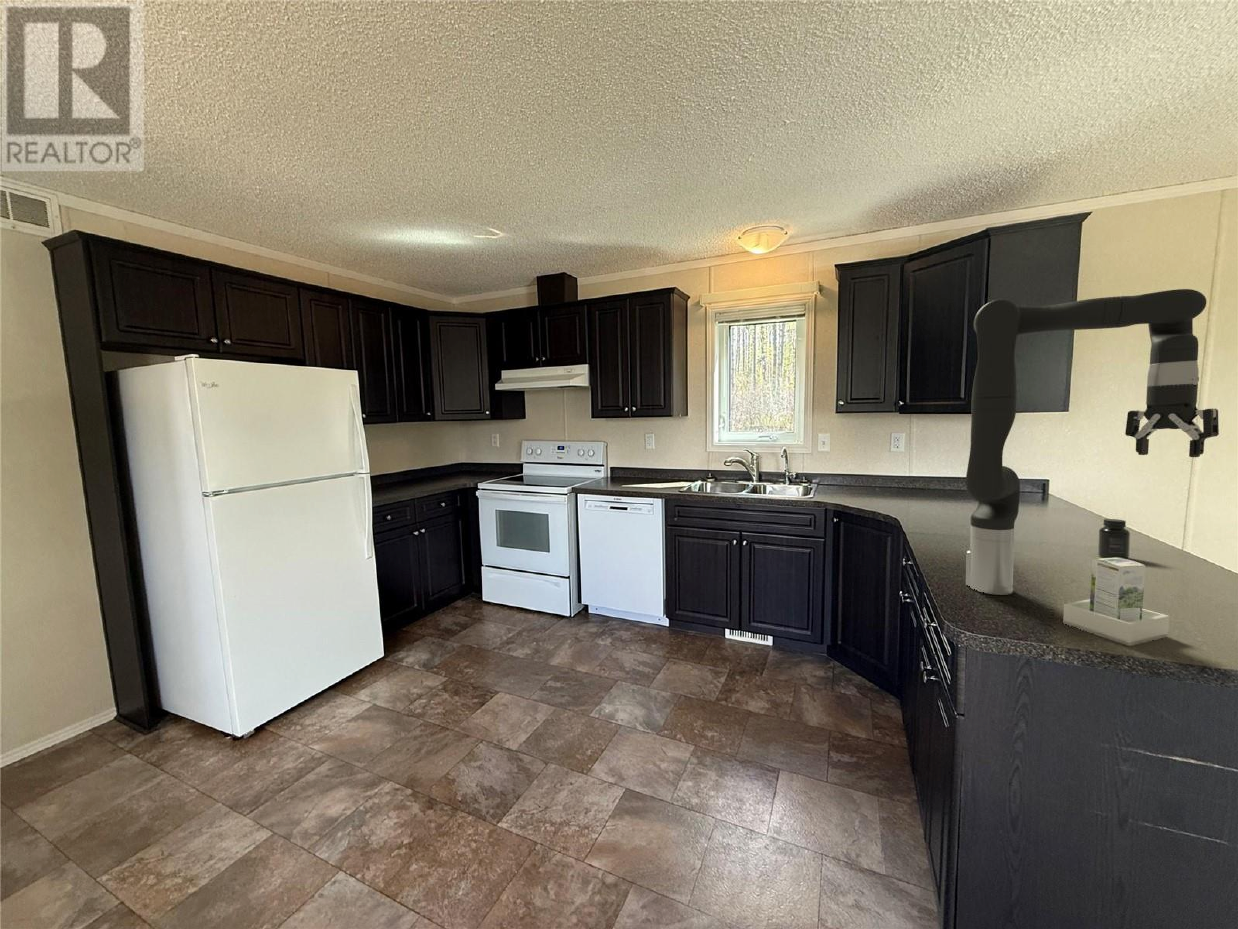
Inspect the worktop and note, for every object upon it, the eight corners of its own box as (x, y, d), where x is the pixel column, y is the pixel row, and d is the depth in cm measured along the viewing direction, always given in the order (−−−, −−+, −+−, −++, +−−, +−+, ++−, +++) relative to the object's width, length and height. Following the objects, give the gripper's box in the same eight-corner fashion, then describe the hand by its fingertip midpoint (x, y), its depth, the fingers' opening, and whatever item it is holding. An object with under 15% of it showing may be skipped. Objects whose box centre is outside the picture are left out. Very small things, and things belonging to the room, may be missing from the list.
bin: (1063, 623, 108) (1063, 604, 108) (1099, 616, 111) (1100, 597, 111) (1129, 646, 97) (1131, 624, 97) (1167, 637, 100) (1169, 615, 100)
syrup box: (1112, 620, 107) (1115, 556, 106) (1142, 631, 101) (1146, 564, 100) (1088, 622, 107) (1090, 557, 105) (1117, 633, 101) (1120, 565, 100)
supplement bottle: (1133, 559, 150) (1135, 520, 149) (1121, 562, 148) (1123, 523, 147) (1105, 553, 156) (1106, 517, 155) (1092, 556, 154) (1094, 519, 153)
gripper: (1120, 386, 114) (1116, 455, 115) (1207, 380, 100) (1202, 459, 102) (1141, 385, 116) (1138, 453, 117) (1229, 380, 102) (1224, 456, 104)
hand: (1167, 455), depth 110 cm, fingers open, 8 cm apart
